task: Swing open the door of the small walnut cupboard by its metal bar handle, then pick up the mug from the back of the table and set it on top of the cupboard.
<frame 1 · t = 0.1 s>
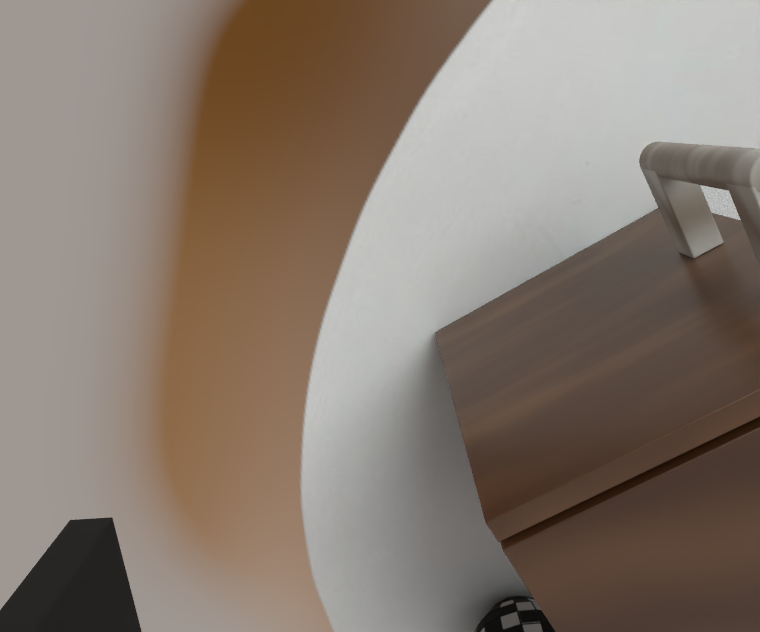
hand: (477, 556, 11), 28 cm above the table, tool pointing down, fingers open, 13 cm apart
cupboard: (599, 368, 40), on the table
cupboard door: (583, 276, 28), point 10 cm above the table, hinge at 0.0°
grenade: (505, 619, 48), on the table
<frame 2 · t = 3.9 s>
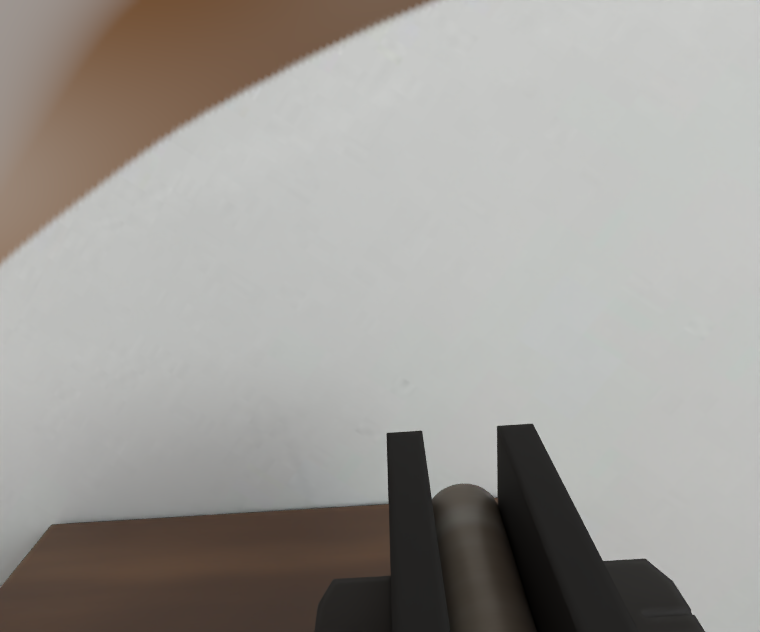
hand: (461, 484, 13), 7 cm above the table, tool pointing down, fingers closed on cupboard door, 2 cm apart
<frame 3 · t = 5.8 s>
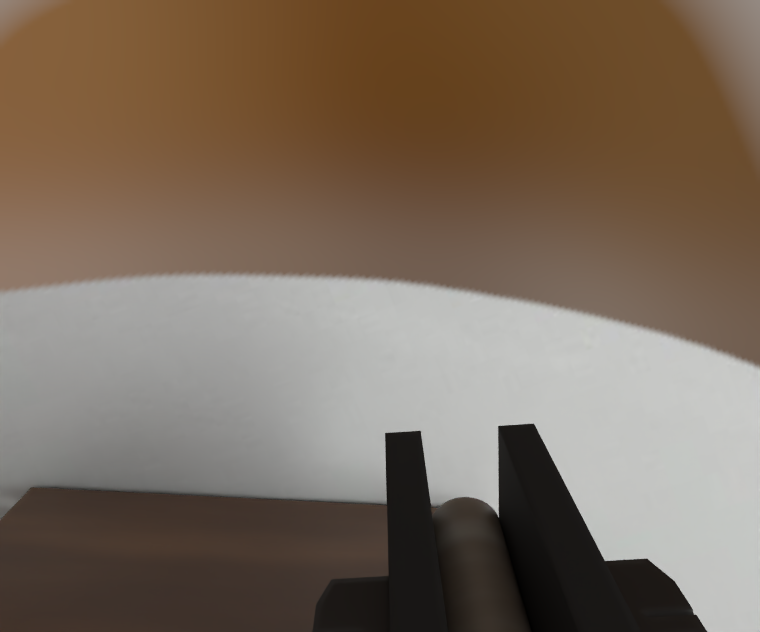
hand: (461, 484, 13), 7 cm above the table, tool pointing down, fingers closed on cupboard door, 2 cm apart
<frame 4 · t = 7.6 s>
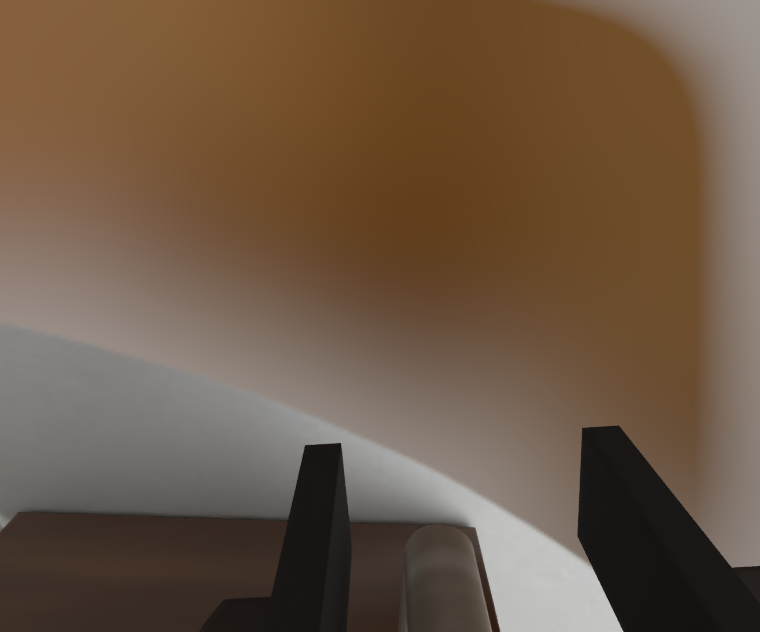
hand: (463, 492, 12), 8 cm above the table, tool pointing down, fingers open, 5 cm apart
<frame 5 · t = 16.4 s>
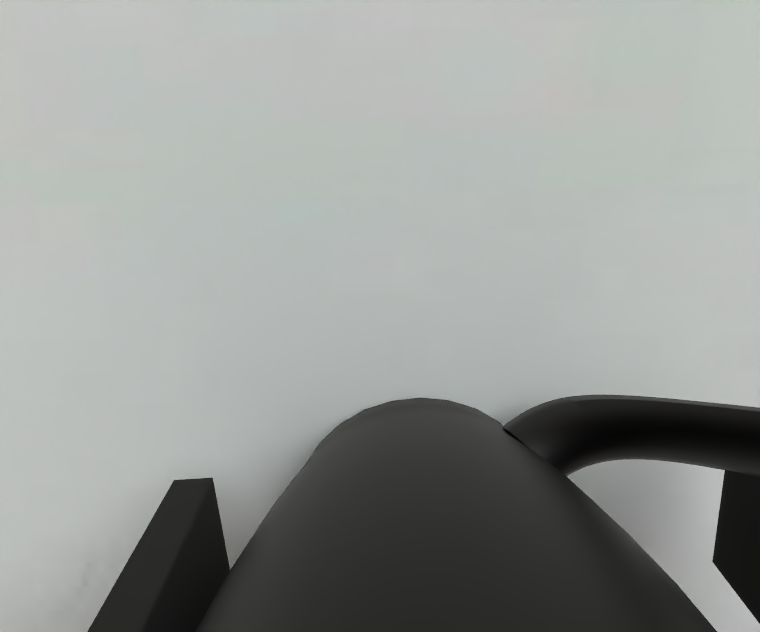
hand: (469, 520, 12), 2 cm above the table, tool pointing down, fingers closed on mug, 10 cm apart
mug: (481, 453, 13), on the table, touching gripper
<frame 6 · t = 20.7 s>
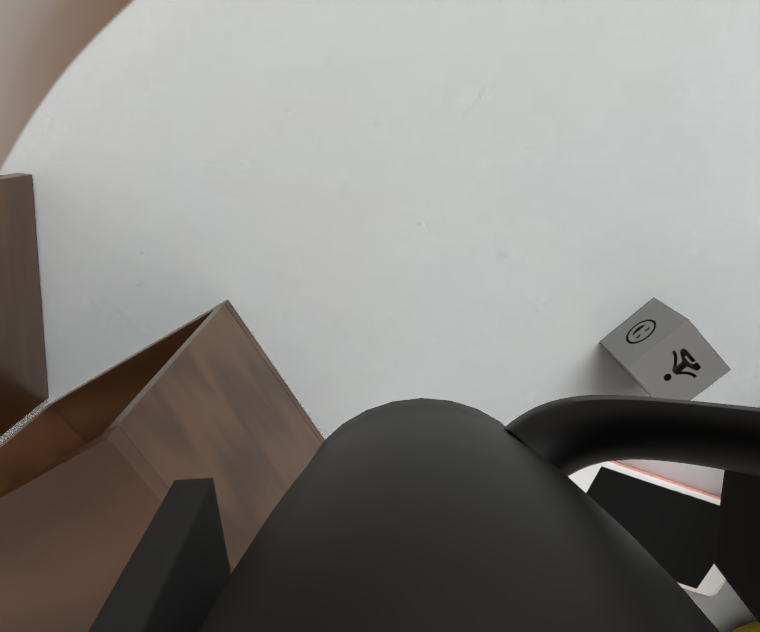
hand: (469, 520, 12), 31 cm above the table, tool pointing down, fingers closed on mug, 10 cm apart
cell phone: (641, 519, 49), on the table
cupboard: (190, 423, 46), on the table
mug: (483, 453, 13), point 29 cm above the table, touching gripper
dice cube: (645, 341, 44), on the table
when the fingers open (22 cm above the table, at t = 25.1 s): mug stays where it is, resting on cupboard.
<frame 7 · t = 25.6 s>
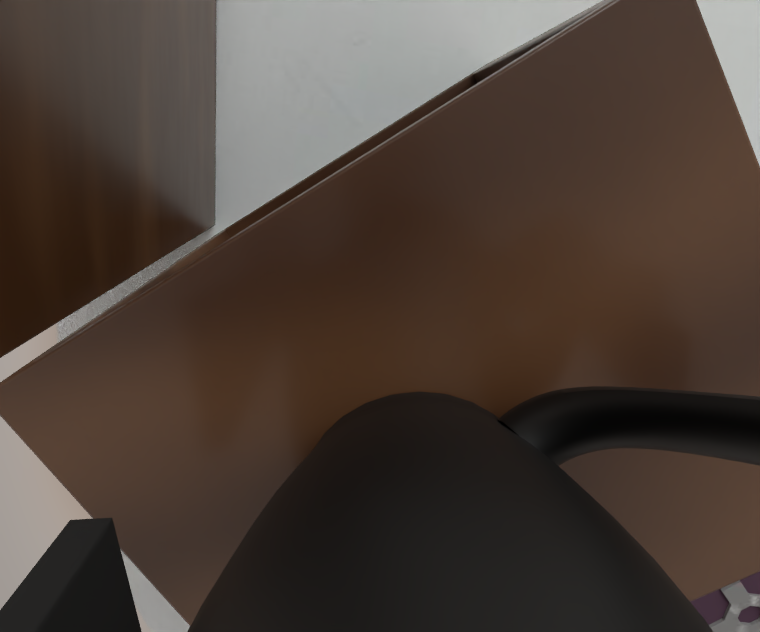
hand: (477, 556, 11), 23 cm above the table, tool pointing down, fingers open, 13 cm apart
cupboard: (410, 264, 33), on the table
mug: (479, 445, 14), point 20 cm above the table, touching cupboard
cupboard door: (39, 15, 20), point 10 cm above the table, hinge at 53.6°
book: (690, 511, 38), on the table
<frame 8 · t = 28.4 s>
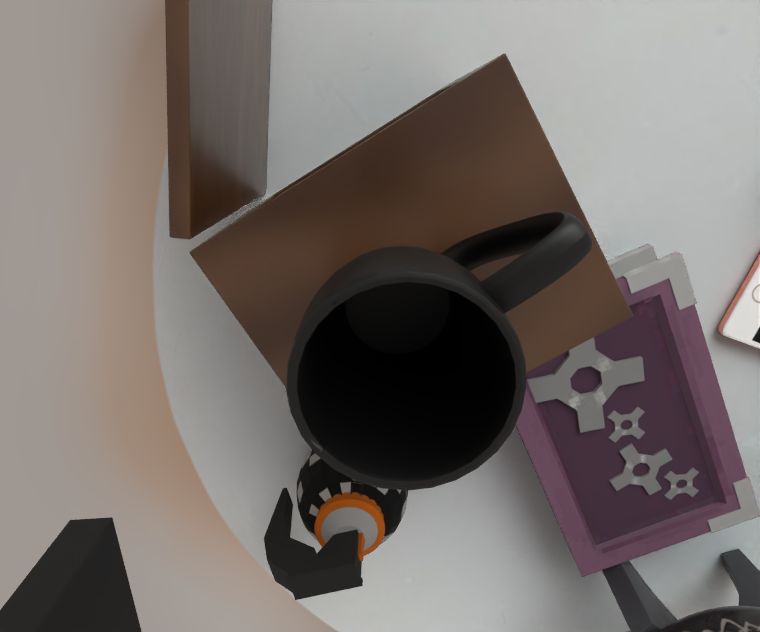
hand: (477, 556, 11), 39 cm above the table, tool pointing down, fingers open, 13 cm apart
planter: (654, 579, 59), on the table
cupboard: (400, 220, 47), on the table
mug: (427, 280, 28), point 20 cm above the table, touching cupboard
cupboard door: (182, 60, 34), point 10 cm above the table, hinge at 53.6°
grenade: (345, 458, 55), on the table
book: (604, 403, 53), on the table
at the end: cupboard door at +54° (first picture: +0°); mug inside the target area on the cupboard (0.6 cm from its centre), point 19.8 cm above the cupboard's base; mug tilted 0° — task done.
